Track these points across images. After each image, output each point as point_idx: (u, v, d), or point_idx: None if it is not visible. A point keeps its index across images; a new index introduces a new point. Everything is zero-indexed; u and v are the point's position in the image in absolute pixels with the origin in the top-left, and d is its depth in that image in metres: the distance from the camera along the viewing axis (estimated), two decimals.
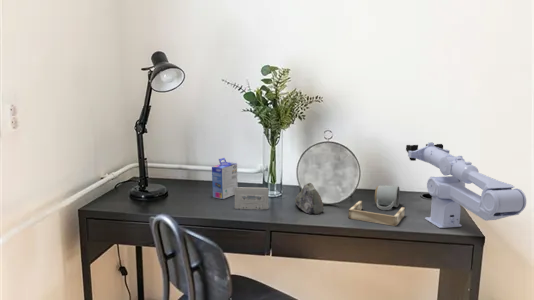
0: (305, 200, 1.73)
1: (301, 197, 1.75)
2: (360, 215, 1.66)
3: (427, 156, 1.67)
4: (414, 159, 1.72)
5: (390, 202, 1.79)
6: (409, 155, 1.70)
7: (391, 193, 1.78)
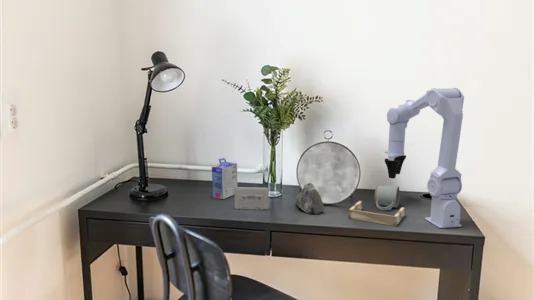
0: (305, 200, 1.73)
1: (301, 197, 1.75)
2: (360, 215, 1.66)
3: (394, 145, 1.83)
4: (399, 160, 1.82)
5: (390, 202, 1.78)
6: (392, 157, 1.80)
7: (391, 193, 1.78)
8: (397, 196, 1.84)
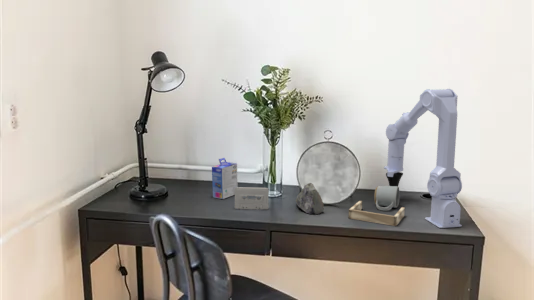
0: (305, 200, 1.73)
1: (301, 197, 1.75)
2: (360, 215, 1.66)
3: (393, 161, 1.84)
4: (400, 175, 1.86)
5: (390, 203, 1.78)
6: (391, 174, 1.81)
7: (390, 193, 1.78)
8: (397, 196, 1.84)
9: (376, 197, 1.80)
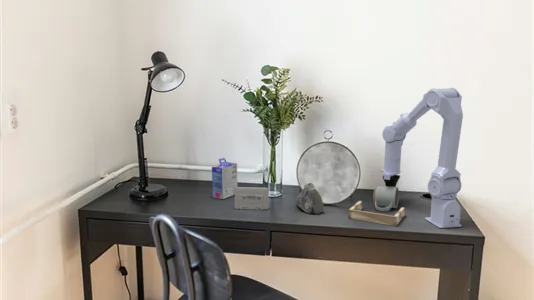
0: (305, 200, 1.73)
1: (302, 197, 1.75)
2: (360, 215, 1.66)
3: (389, 163, 1.80)
4: (397, 177, 1.82)
5: (389, 203, 1.77)
6: (387, 177, 1.77)
7: (389, 194, 1.77)
8: (396, 197, 1.82)
9: (375, 197, 1.79)
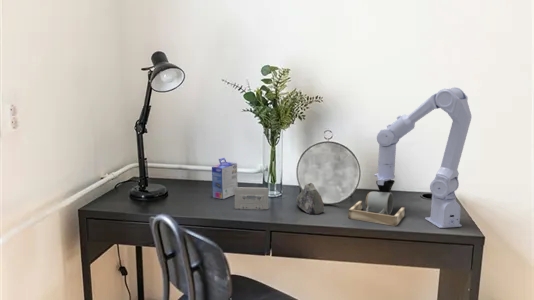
0: (306, 200, 1.73)
1: (302, 197, 1.75)
2: (360, 215, 1.66)
3: (383, 168, 1.73)
4: (391, 182, 1.74)
5: (381, 209, 1.70)
6: (381, 182, 1.69)
7: (382, 200, 1.69)
8: (391, 203, 1.75)
9: (367, 203, 1.72)
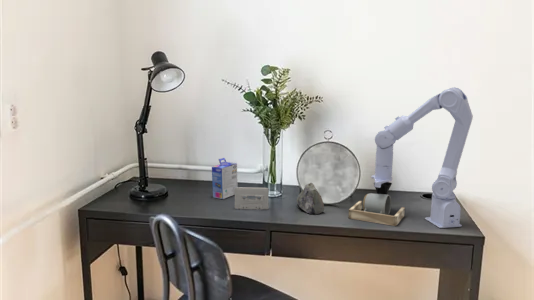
0: (306, 200, 1.73)
1: (302, 197, 1.75)
2: (360, 215, 1.66)
3: (380, 170, 1.69)
4: (389, 184, 1.71)
5: (378, 212, 1.67)
6: (378, 184, 1.66)
7: (379, 202, 1.67)
8: (388, 205, 1.72)
9: (364, 205, 1.69)
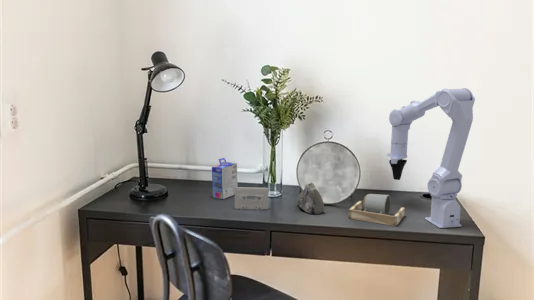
0: (306, 200, 1.73)
1: (302, 197, 1.75)
2: (360, 215, 1.66)
3: (396, 147, 1.78)
4: (404, 162, 1.80)
5: (378, 212, 1.67)
6: (395, 161, 1.75)
7: (379, 202, 1.67)
8: (388, 205, 1.72)
9: (364, 206, 1.69)
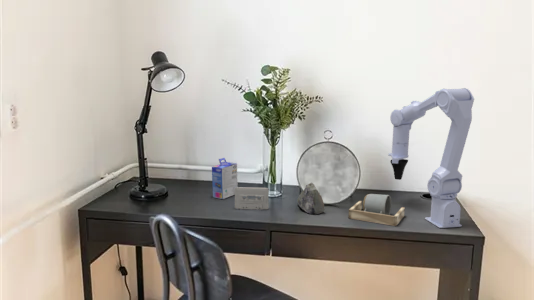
0: (306, 200, 1.73)
1: (302, 197, 1.75)
2: (360, 215, 1.66)
3: (398, 147, 1.79)
4: (405, 161, 1.80)
5: (378, 212, 1.67)
6: (396, 160, 1.75)
7: (379, 202, 1.67)
8: (388, 206, 1.72)
9: (364, 206, 1.69)
